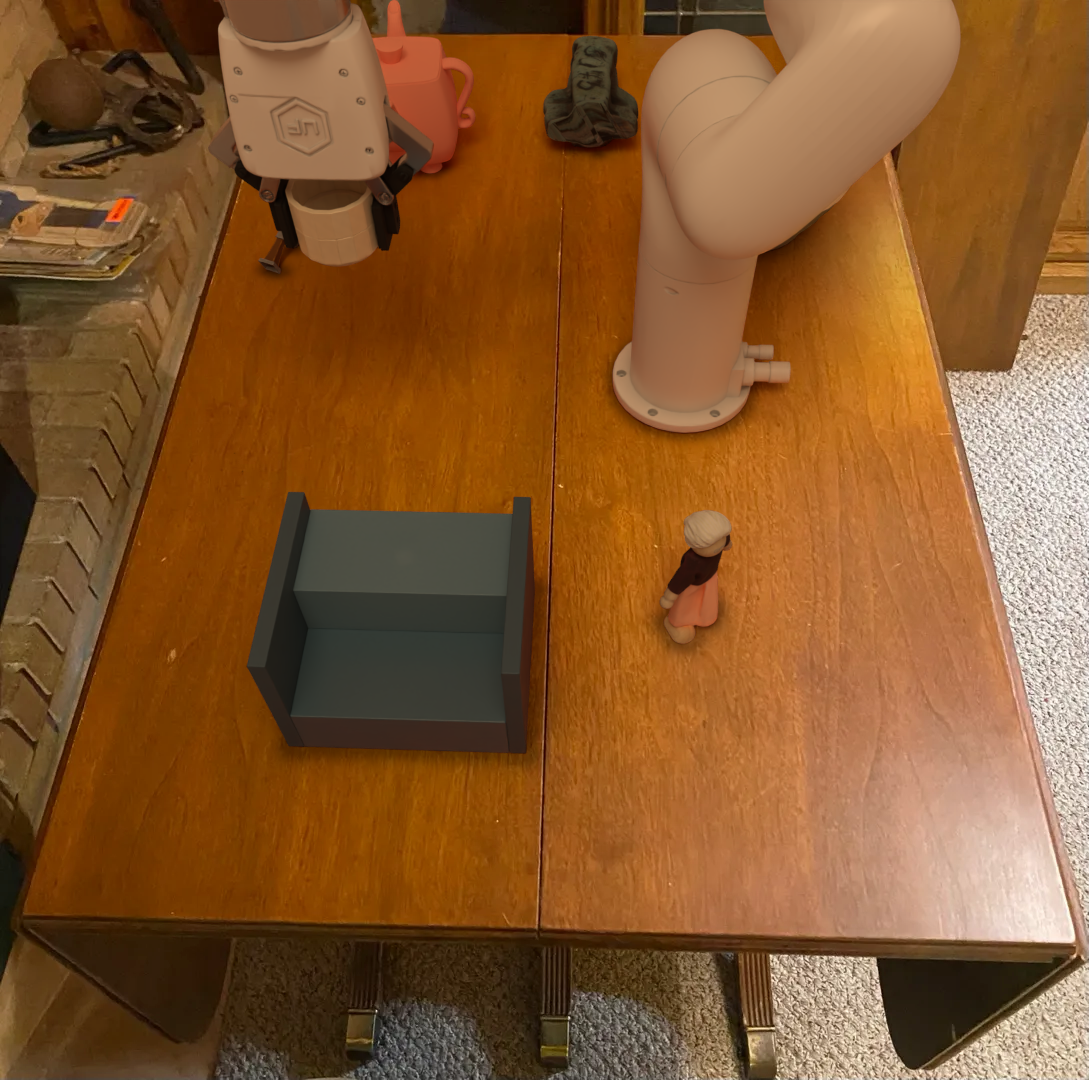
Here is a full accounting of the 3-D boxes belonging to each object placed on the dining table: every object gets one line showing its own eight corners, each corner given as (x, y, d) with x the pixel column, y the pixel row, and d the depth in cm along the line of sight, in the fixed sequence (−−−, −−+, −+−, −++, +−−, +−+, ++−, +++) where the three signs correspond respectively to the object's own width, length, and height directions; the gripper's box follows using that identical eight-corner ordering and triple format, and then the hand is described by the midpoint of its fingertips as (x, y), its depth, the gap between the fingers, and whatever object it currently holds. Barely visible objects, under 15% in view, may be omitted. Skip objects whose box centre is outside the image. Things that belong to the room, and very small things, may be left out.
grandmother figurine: (691, 663, 77) (711, 569, 67) (647, 640, 78) (659, 544, 68) (736, 590, 81) (761, 490, 70) (693, 569, 82) (711, 468, 72)
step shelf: (535, 589, 81) (530, 496, 71) (526, 753, 73) (519, 674, 63) (320, 584, 82) (287, 491, 72) (288, 746, 74) (246, 666, 64)
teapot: (398, 211, 110) (382, 102, 99) (306, 148, 117) (281, 40, 106) (500, 153, 116) (494, 44, 105) (407, 96, 123) (392, -12, 112)
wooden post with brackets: (321, 218, 108) (304, 194, 103) (291, 285, 106) (271, 264, 102) (307, 214, 108) (289, 190, 104) (276, 280, 107) (256, 259, 103)
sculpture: (670, 117, 112) (626, 68, 123) (640, 60, 107) (597, 14, 117) (579, 184, 115) (543, 130, 125) (545, 132, 110) (511, 81, 120)
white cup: (390, 218, 79) (380, 160, 75) (376, 271, 75) (365, 214, 71) (310, 216, 79) (295, 159, 75) (292, 269, 76) (276, 212, 72)
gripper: (130, 26, 61) (216, 267, 75) (418, 30, 60) (449, 274, 74) (166, -35, 65) (241, 204, 80) (435, -32, 64) (461, 209, 79)
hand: (341, 236), depth 77 cm, fingers closed on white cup, 6 cm apart
